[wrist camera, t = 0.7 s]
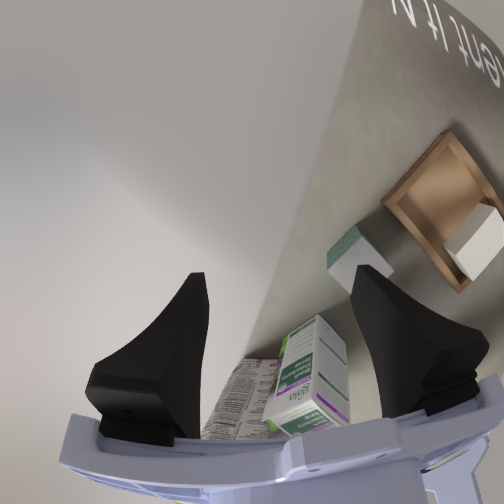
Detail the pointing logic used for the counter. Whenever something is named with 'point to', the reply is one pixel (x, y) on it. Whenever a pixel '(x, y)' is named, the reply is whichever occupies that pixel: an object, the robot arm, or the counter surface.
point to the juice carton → (242, 404)
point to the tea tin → (354, 258)
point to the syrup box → (309, 382)
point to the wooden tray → (441, 200)
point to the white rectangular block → (476, 240)
